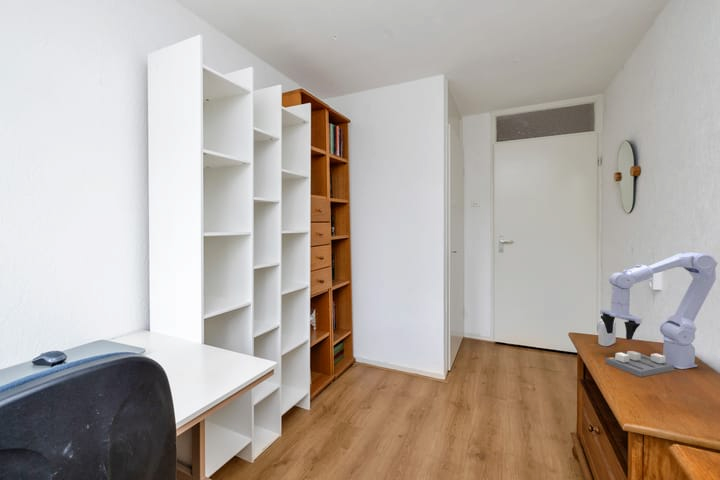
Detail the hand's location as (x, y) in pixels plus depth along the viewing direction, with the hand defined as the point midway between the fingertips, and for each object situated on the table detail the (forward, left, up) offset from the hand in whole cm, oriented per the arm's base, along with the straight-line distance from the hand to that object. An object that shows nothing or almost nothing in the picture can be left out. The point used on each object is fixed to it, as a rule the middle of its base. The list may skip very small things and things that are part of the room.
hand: (619, 336), depth 130 cm
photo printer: (-13, -14, -10) cm, 21 cm away
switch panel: (0, +8, -9) cm, 12 cm away
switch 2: (-6, +10, -7) cm, 14 cm away
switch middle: (0, +6, -7) cm, 9 cm away
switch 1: (+6, +6, -7) cm, 11 cm away
